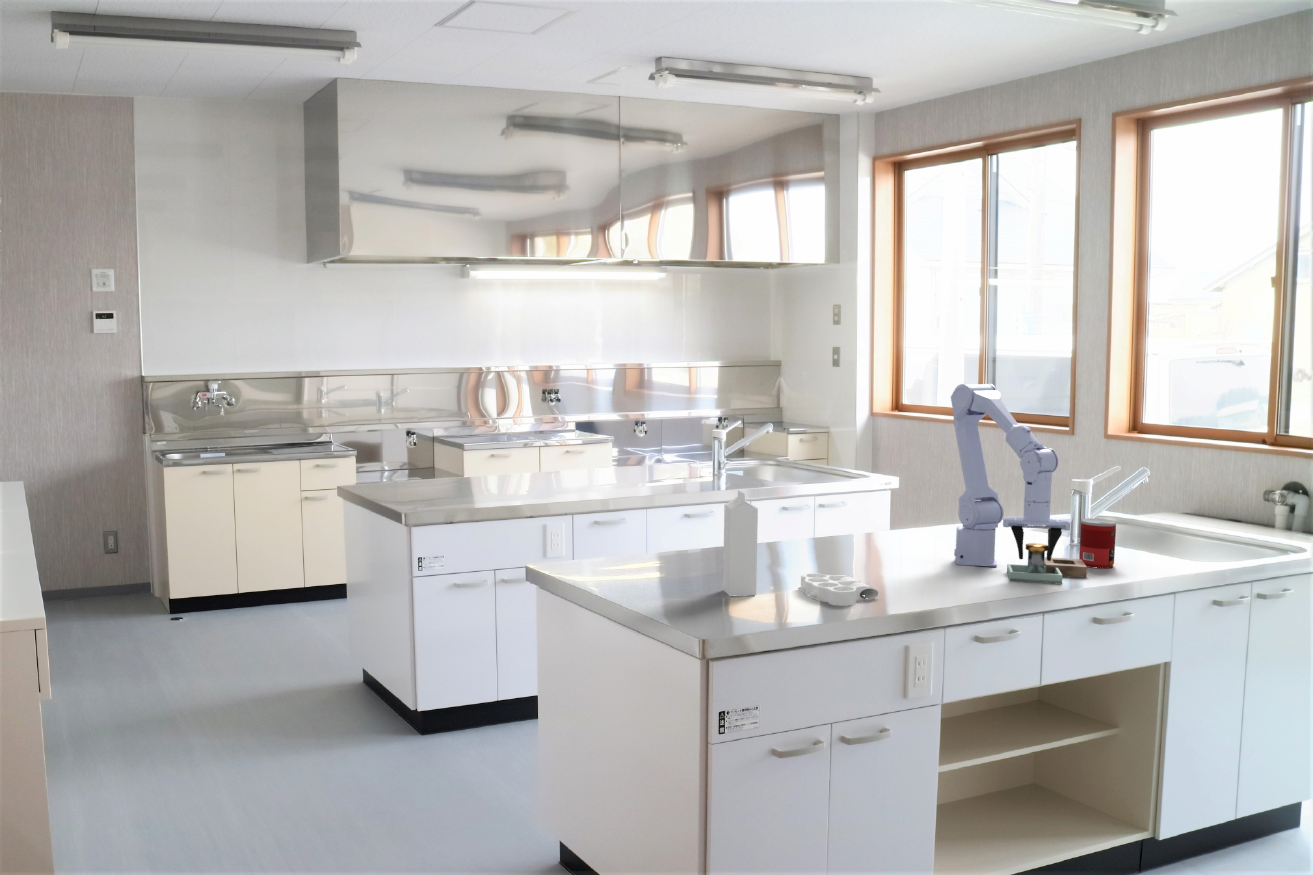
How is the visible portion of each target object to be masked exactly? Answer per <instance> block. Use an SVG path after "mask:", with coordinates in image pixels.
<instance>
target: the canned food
mask: <svg viewBox="0 0 1313 875" xmlns="http://www.w3.org/2000/svg"><path fill="white" fill-rule="evenodd" d="M1079 531H1080V533H1079V534H1080V535H1079V536H1080V537H1079V555H1078V559H1081V560H1082V561H1083V562H1084V564H1085V565H1086V566H1087V568H1092V567H1097V568H1096V569H1110V568H1113V566H1114V565H1115V555H1116V554H1115V553H1116V552H1115V549H1116V538H1117V537H1116V533H1117V522H1116V521H1114V520H1111V519H1105V518H1083V519H1081V520H1080V530H1079Z"/></svg>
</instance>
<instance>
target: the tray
mask: <svg viewBox="0 0 1313 875" xmlns="http://www.w3.org/2000/svg"><path fill="white" fill-rule="evenodd" d="M1050 568H1051V567H1047V573H1046V566H1044V574H1042V573H1028V564H1016V563H1015V564H1014V563H1007V564H1006V574H1007V576H1008V578H1009V581H1010V582H1023V583H1024V582H1025V583H1026V582H1027V583H1038V582H1042V583H1041V584H1054V583H1057V584H1059V585H1062V584H1063V577H1064V576H1063V575H1062V574H1061V572H1060V570H1059V569H1058V567H1055V568H1054V567H1053V568H1051V569H1050ZM1050 570H1051V572H1052V571H1053V572H1052V573H1051V572H1050ZM1054 572H1055V573H1054Z"/></svg>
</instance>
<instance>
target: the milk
mask: <svg viewBox="0 0 1313 875" xmlns="http://www.w3.org/2000/svg"><path fill="white" fill-rule="evenodd" d="M758 509H759V508H758V507H756V506H754V505H753V504H752V503H750V502H748V501H747V500H746V494H745V492H743V491H742V490H739V489H738V490H737V497H735V498H733V499H732V500H729V501H728V502H727V503H725V504H724V512H723V516H724V517H723V518H724V519H723V561H722V562H723V566H722V567H723V568H722V570H723V573H722V575H723V576H722V577H723V578H722V590H723V589H724V590H725V591H726V592H727V593H728V594H729V595H756V596H757V579H758V578H757V576H758V575H757V572H758V568H757V567H758V564H757V563H758V527H759V526H758V525H759V524H758V522H759V520H758V519H759V518H758V517H759V515H758V513H759V512H758V511H759V510H758ZM724 590H723V591H724Z"/></svg>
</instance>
